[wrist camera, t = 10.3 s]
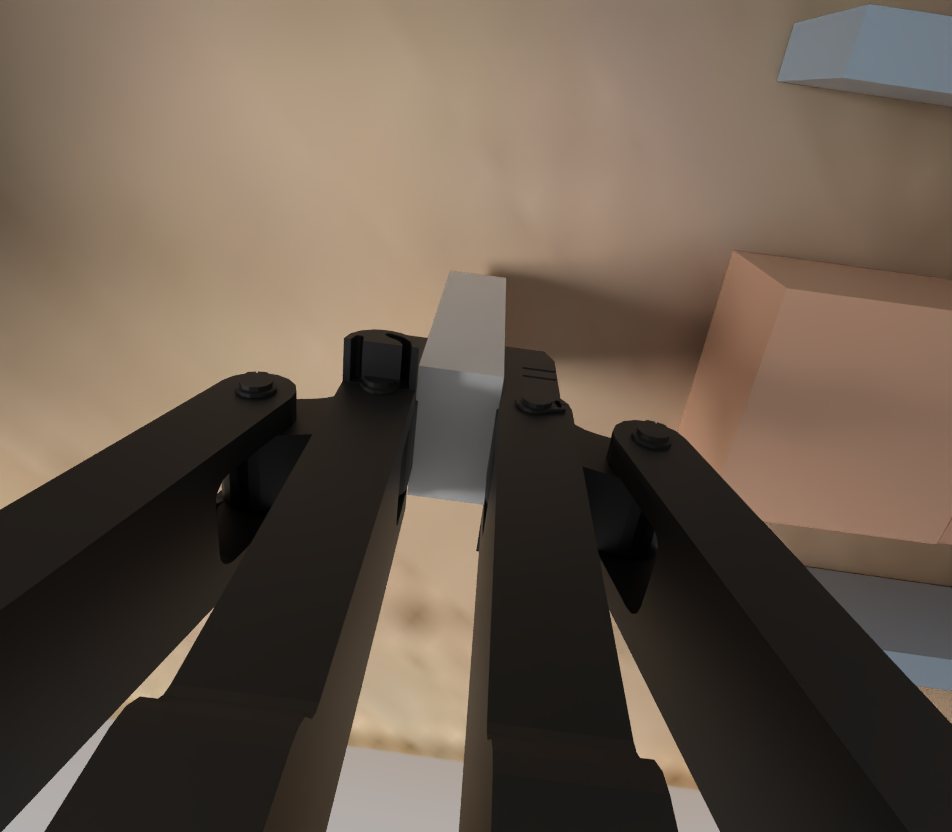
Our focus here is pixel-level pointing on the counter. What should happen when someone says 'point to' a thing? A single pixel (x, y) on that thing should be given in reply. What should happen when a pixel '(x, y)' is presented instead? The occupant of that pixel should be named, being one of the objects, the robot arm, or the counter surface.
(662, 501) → the robot arm
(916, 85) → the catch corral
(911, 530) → the terracotta tile
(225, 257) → the counter surface
